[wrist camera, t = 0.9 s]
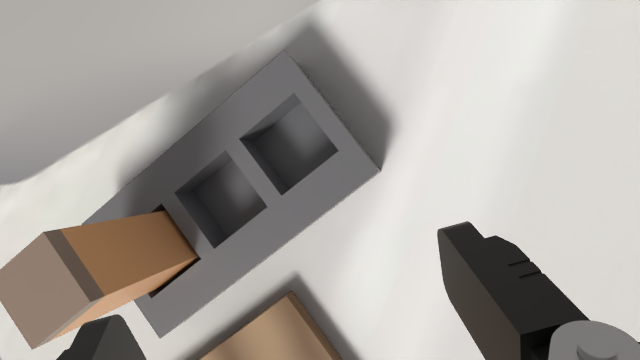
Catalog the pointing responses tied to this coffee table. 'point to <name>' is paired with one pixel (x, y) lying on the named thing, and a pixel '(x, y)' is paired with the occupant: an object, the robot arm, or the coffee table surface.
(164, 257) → the plug
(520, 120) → the coffee table surface
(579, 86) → the coffee table surface
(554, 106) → the coffee table surface
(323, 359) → the rest pad
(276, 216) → the grey compartment tray
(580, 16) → the coffee table surface
